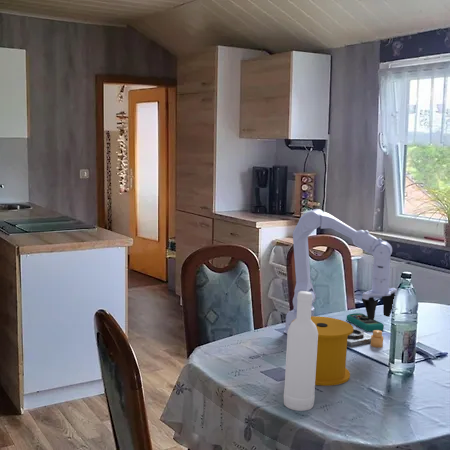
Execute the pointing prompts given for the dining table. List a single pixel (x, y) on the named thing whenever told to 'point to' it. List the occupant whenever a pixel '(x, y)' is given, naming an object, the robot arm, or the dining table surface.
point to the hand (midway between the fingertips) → (378, 317)
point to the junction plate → (358, 338)
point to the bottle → (301, 357)
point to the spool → (331, 350)
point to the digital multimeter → (364, 322)
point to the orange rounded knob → (377, 339)
